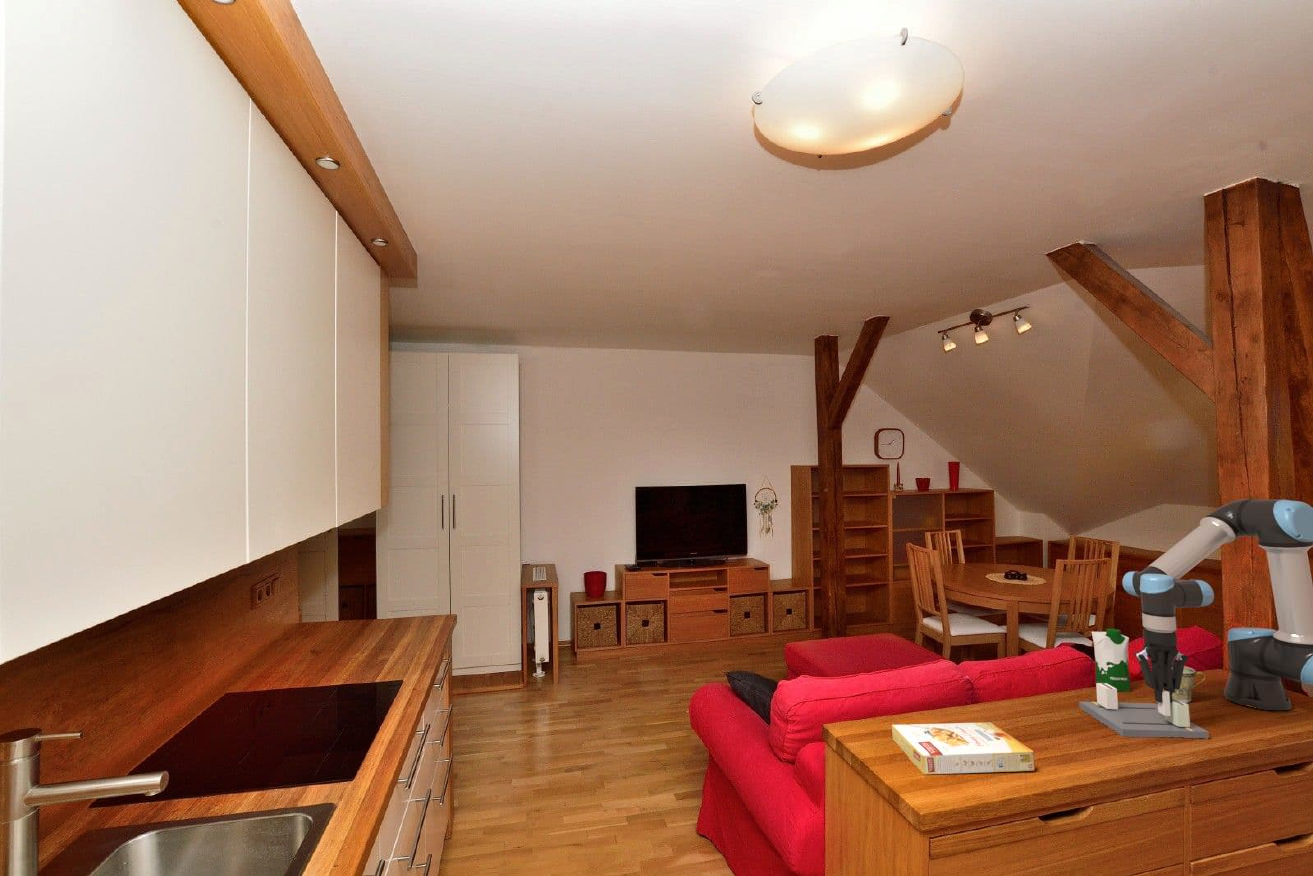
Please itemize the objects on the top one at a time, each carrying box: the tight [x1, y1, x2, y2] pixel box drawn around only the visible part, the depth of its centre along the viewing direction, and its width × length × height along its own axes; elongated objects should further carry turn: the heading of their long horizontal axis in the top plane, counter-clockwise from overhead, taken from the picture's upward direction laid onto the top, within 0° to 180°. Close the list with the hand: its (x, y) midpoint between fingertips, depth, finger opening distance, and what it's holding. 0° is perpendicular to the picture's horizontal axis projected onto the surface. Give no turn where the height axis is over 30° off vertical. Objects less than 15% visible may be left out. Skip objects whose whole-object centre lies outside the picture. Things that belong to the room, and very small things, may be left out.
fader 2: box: [1165, 698, 1191, 727], centre depth 174 cm, size 3×5×6 cm, turn 174°
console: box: [1078, 700, 1210, 739], centre depth 180 cm, size 22×21×2 cm
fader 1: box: [1095, 682, 1119, 709], centre depth 187 cm, size 3×5×6 cm, turn 174°
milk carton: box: [1091, 628, 1131, 691], centre depth 210 cm, size 9×9×20 cm
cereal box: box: [891, 721, 1036, 775], centre depth 161 cm, size 20×6×28 cm
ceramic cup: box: [1163, 665, 1207, 704], centre depth 198 cm, size 13×10×10 cm
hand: (1164, 713), depth 174 cm, fingers closed
